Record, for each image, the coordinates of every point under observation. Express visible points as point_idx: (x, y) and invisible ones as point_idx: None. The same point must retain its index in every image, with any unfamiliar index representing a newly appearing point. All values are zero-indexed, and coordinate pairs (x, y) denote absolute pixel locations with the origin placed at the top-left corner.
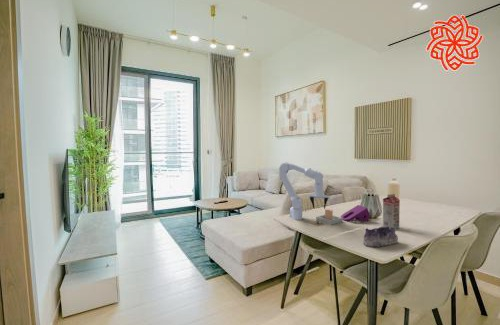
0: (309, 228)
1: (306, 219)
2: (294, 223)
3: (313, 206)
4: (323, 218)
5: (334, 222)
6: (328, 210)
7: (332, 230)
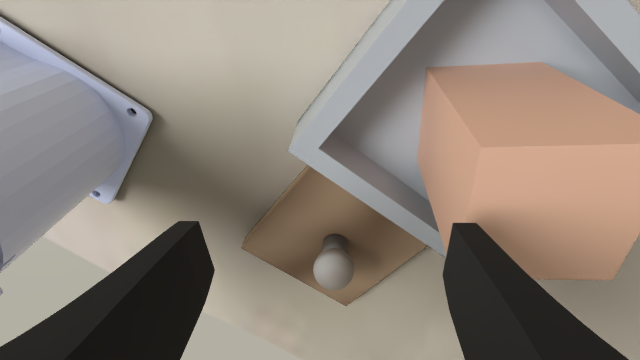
0: (283, 313)
1: (159, 80)
2: (121, 243)
3: (194, 304)
4: (401, 211)
5: None
6: (533, 253)
7: None
